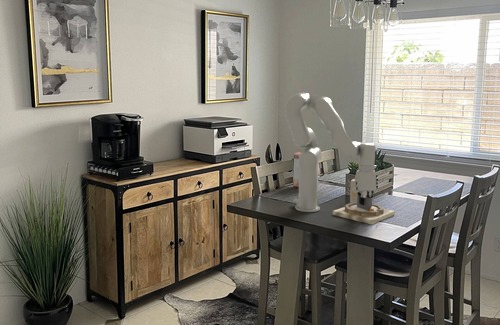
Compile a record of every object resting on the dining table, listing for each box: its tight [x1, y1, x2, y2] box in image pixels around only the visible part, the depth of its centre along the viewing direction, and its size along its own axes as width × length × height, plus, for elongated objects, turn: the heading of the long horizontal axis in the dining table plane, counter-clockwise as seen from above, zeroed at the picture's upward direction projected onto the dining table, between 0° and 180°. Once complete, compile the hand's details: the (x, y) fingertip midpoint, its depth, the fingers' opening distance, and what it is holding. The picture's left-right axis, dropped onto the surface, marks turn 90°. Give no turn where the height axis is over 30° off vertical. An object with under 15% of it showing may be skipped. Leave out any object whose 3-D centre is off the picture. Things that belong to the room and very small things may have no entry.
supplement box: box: [349, 178, 367, 203], centre depth 274 cm, size 8×5×13 cm, turn 56°
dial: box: [350, 195, 378, 211], centre depth 254 cm, size 14×14×7 cm
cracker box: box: [292, 151, 302, 188], centre depth 308 cm, size 14×6×21 cm, turn 42°
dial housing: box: [332, 202, 396, 225], centre depth 254 cm, size 22×22×4 cm
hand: (364, 204), depth 254 cm, fingers closed on dial, 2 cm apart
